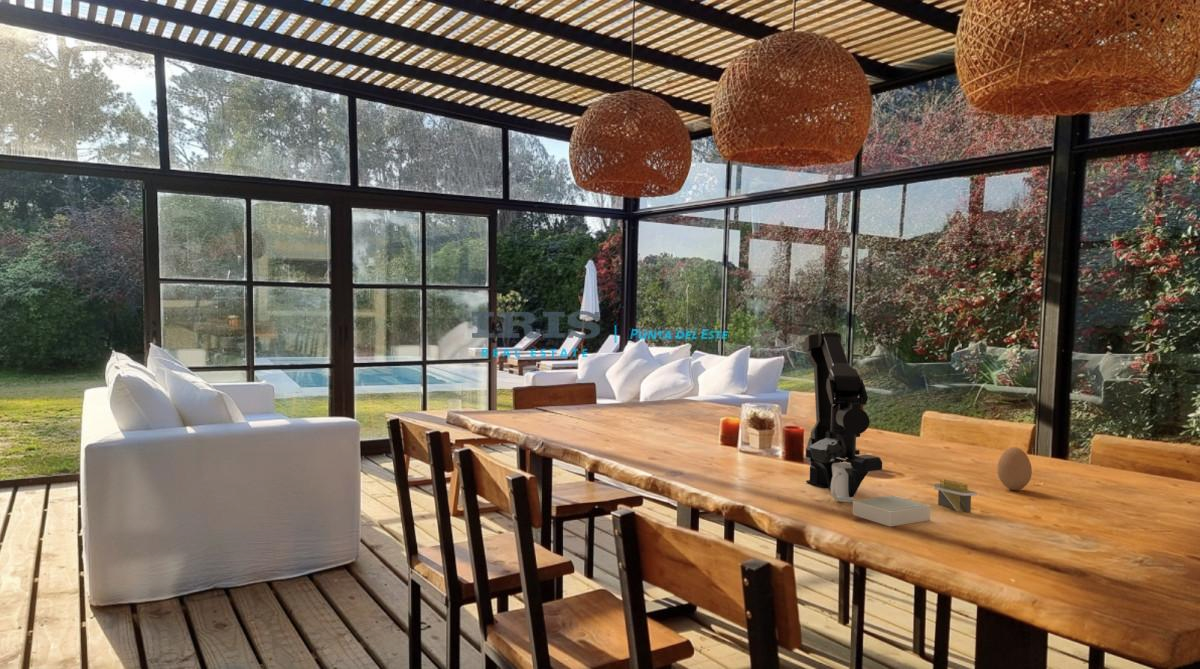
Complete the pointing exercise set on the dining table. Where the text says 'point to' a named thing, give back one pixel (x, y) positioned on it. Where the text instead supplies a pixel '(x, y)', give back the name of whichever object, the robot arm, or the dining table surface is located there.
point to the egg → (1014, 469)
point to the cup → (840, 482)
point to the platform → (954, 495)
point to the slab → (891, 510)
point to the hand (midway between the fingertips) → (841, 494)
